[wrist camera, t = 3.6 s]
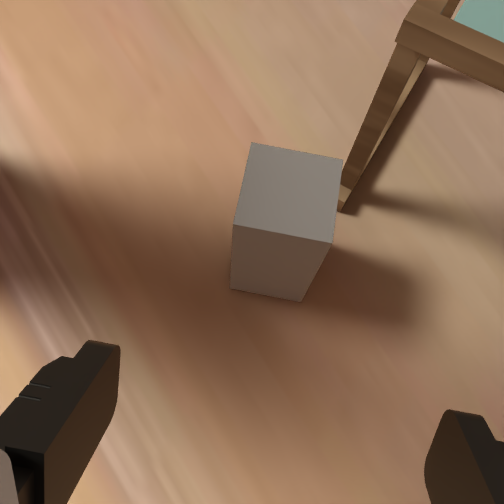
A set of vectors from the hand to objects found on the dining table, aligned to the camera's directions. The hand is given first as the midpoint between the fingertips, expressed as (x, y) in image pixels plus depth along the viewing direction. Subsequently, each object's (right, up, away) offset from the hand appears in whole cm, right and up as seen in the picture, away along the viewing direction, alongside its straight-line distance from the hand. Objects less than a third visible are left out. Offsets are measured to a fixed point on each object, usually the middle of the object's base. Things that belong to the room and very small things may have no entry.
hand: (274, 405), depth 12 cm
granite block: (+1, +3, +22) cm, 22 cm away
